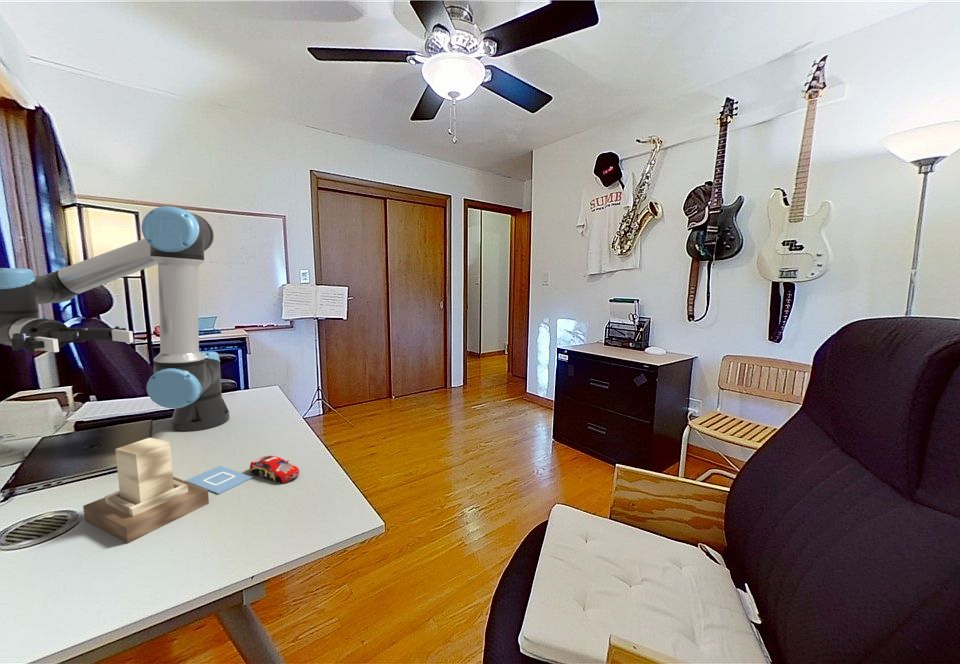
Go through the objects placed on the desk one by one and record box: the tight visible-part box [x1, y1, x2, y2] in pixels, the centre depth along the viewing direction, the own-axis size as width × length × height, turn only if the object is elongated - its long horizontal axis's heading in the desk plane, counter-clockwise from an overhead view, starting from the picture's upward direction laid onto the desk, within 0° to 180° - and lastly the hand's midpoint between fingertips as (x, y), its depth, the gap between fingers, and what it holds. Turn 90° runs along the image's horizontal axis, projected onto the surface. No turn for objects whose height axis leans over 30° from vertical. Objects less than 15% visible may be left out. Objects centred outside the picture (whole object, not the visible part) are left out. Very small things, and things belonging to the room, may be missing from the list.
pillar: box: [114, 437, 174, 505], centre depth 78 cm, size 6×6×11 cm
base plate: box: [82, 476, 210, 544], centre depth 79 cm, size 14×15×4 cm
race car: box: [249, 455, 300, 484], centre depth 95 cm, size 13×5×4 cm, turn 66°
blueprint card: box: [184, 465, 254, 495], centre depth 92 cm, size 8×12×1 cm, turn 66°
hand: (96, 341), depth 89 cm, fingers open, 13 cm apart
